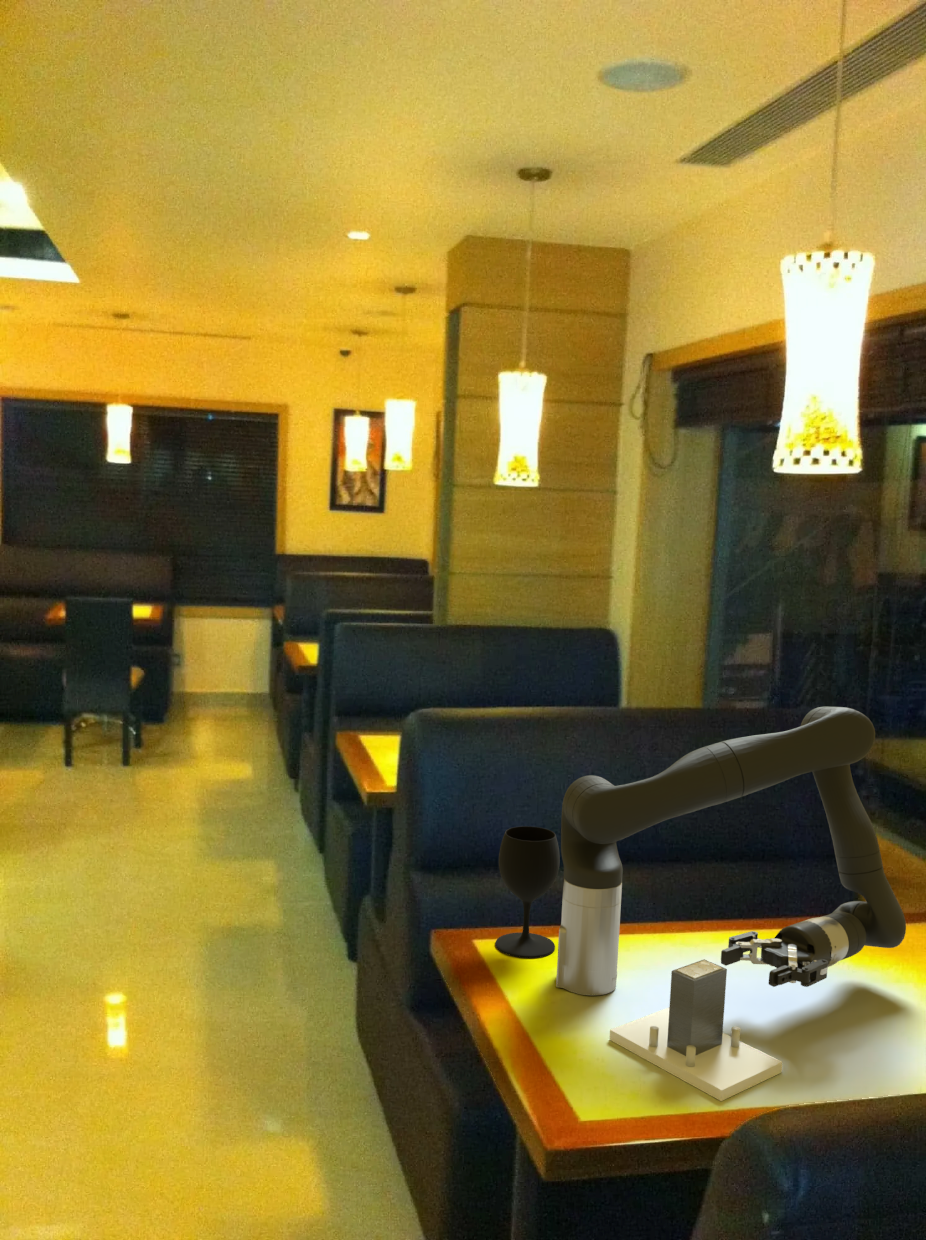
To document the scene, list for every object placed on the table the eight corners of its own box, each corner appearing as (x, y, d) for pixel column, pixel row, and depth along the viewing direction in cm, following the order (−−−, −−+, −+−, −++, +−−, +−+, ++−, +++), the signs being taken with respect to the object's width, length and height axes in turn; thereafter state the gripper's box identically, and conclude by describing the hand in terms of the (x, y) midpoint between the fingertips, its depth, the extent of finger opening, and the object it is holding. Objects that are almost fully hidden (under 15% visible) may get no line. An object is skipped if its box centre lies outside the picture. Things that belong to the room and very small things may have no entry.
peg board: (609, 1039, 161) (610, 1013, 160) (669, 1016, 169) (671, 991, 168) (721, 1101, 145) (723, 1072, 145) (781, 1072, 153) (783, 1044, 153)
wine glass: (511, 962, 187) (516, 845, 184) (485, 938, 196) (489, 827, 194) (566, 954, 191) (572, 839, 189) (538, 931, 200) (543, 822, 198)
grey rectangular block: (667, 1046, 156) (671, 969, 155) (699, 1033, 161) (704, 958, 160) (689, 1058, 153) (694, 980, 152) (721, 1044, 158) (726, 968, 156)
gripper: (775, 907, 178) (709, 927, 168) (855, 937, 167) (790, 961, 157) (771, 952, 179) (706, 975, 169) (851, 985, 168) (785, 1012, 158)
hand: (746, 968), depth 163 cm, fingers open, 8 cm apart
